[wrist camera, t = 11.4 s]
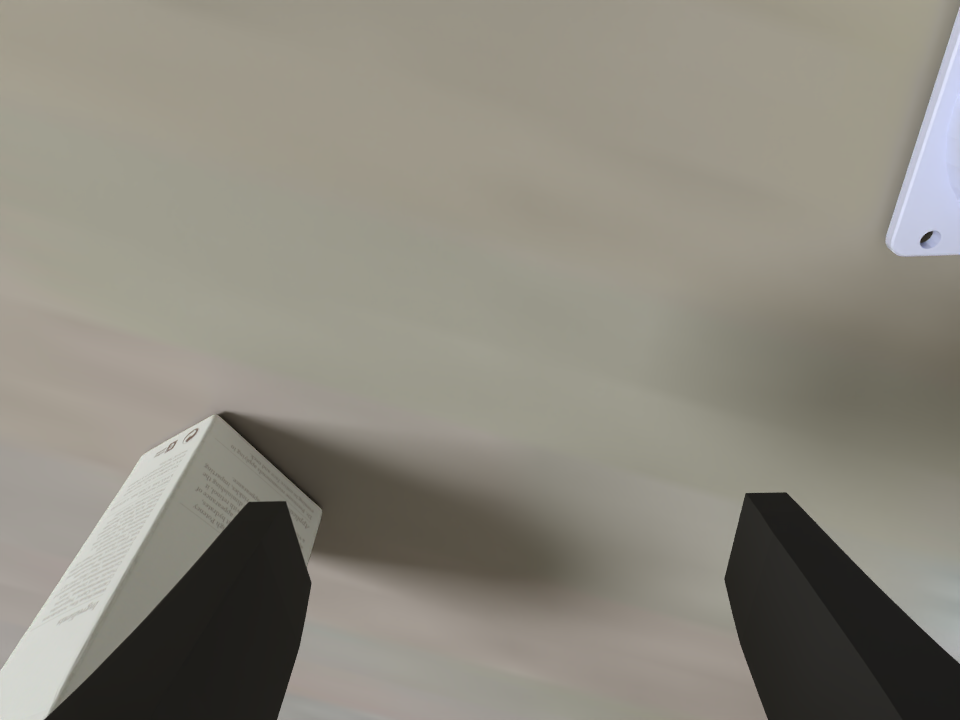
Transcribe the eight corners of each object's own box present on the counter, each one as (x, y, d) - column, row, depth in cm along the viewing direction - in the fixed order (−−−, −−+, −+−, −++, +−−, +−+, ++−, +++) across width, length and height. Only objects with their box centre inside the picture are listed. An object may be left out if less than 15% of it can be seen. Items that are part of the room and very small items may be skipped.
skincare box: (140, 452, 24) (-130, 829, 14) (223, 403, 22) (-11, 786, 12) (255, 547, 27) (100, 919, 17) (337, 509, 25) (220, 892, 15)
